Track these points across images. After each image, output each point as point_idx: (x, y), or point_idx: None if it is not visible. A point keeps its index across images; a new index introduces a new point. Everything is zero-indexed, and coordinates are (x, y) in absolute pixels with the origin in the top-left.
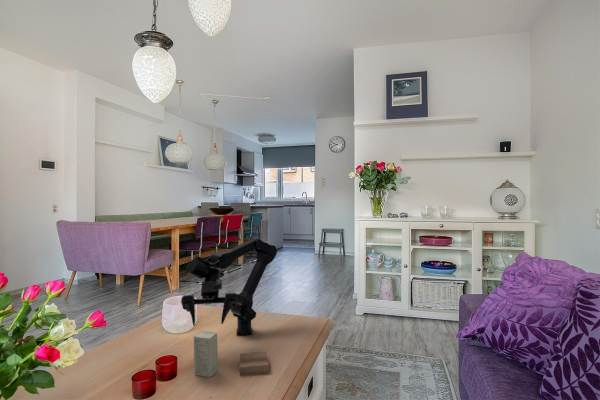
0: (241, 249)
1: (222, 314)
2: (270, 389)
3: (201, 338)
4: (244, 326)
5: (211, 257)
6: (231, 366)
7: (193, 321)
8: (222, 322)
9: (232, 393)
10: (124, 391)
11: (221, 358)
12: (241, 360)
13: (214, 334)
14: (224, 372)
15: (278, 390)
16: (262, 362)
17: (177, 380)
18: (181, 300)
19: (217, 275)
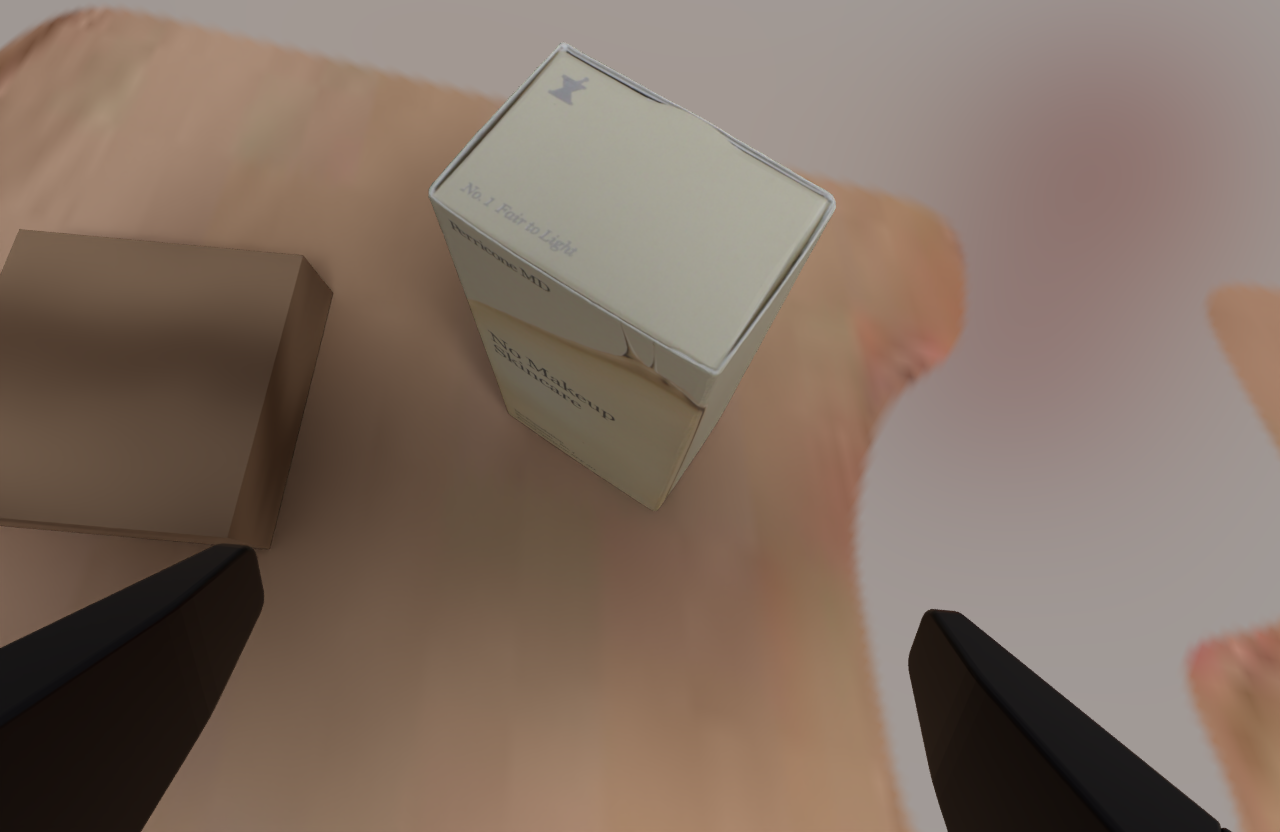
0: None
1: (62, 668)
2: (158, 67)
3: (693, 126)
4: None
5: None
6: (374, 469)
7: (987, 651)
8: (222, 545)
9: (430, 92)
10: (1218, 307)
11: (454, 678)
12: (250, 379)
13: (477, 153)
14: (454, 377)
15: (108, 44)
16: (56, 286)
17: (851, 355)
18: None
19: None
